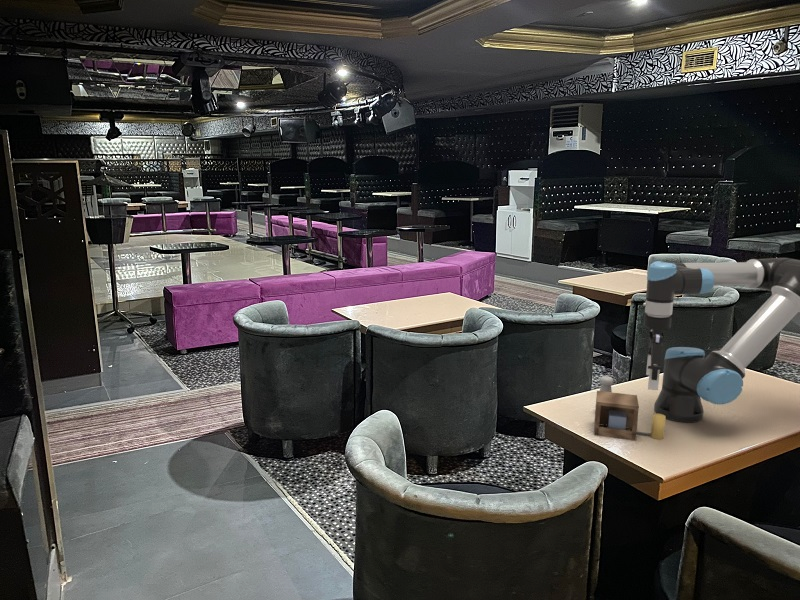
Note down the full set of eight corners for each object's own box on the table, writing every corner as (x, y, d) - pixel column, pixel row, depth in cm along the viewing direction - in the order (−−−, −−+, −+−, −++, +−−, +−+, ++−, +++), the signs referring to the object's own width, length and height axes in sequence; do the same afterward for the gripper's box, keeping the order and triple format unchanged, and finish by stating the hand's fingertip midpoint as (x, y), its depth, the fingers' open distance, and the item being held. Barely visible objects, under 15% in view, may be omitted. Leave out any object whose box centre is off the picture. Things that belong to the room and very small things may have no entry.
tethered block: (662, 434, 185) (664, 413, 183) (664, 441, 180) (666, 419, 179) (607, 427, 190) (609, 406, 188) (607, 433, 185) (609, 412, 184)
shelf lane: (633, 427, 190) (636, 395, 187) (635, 440, 180) (638, 406, 178) (594, 422, 193) (597, 390, 191) (594, 435, 184) (597, 401, 182)
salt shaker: (592, 410, 203) (595, 374, 201) (608, 409, 204) (611, 374, 201) (599, 417, 198) (602, 380, 195) (615, 416, 198) (619, 379, 196)
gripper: (643, 305, 189) (637, 368, 194) (646, 323, 167) (639, 394, 171) (668, 306, 187) (662, 370, 191) (675, 325, 164) (668, 397, 168)
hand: (651, 382), depth 181 cm, fingers open, 13 cm apart
